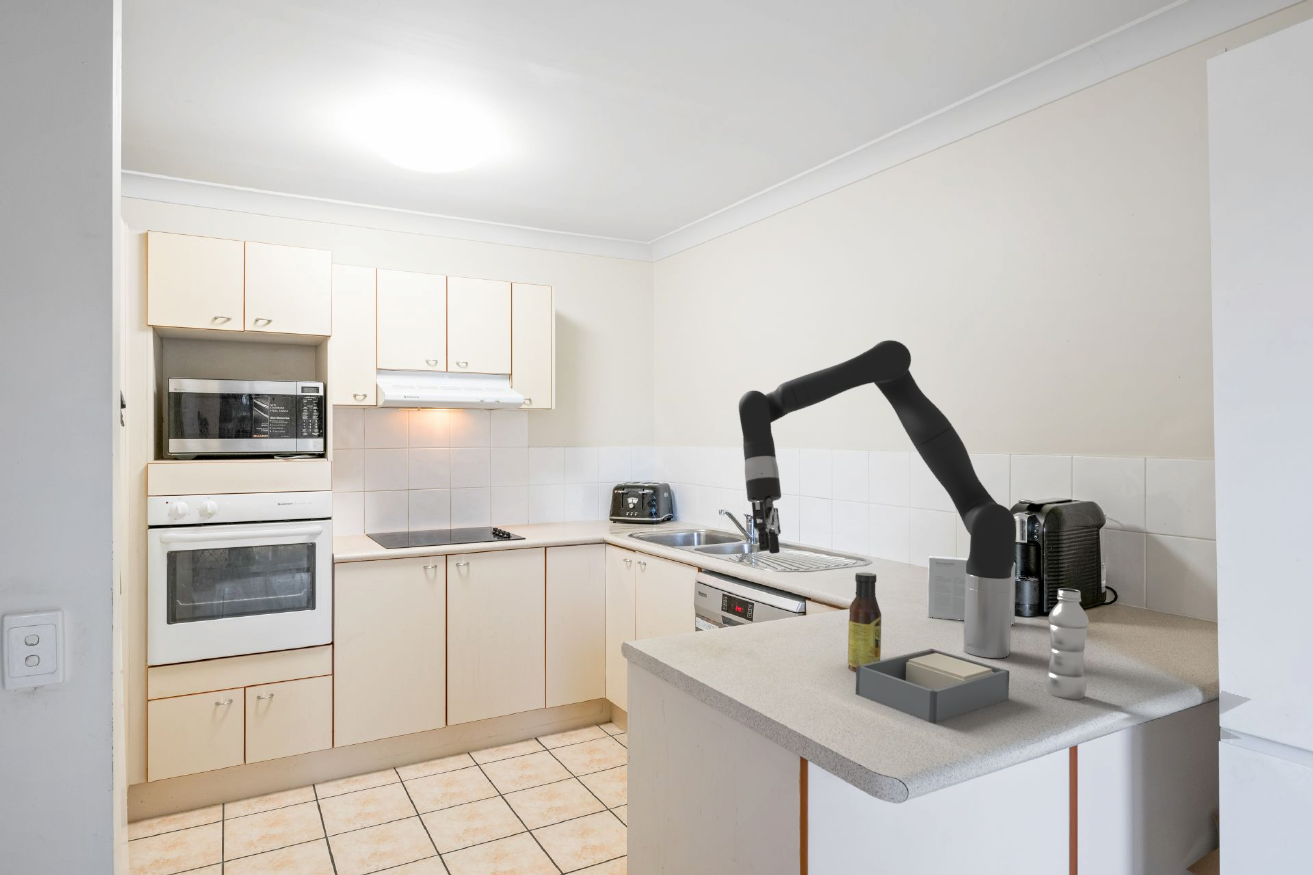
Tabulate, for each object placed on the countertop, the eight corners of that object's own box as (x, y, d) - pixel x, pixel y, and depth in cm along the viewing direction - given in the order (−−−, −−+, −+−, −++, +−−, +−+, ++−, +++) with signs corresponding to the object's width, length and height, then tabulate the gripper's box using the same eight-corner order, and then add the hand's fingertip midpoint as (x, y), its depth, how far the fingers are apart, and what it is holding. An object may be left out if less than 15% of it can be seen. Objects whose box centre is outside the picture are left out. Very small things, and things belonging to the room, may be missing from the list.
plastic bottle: (1037, 693, 143) (1041, 586, 143) (1071, 692, 144) (1075, 586, 144) (1058, 705, 137) (1062, 593, 137) (1094, 705, 138) (1098, 594, 137)
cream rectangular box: (935, 678, 148) (935, 652, 147) (993, 696, 138) (994, 669, 138) (905, 686, 142) (906, 659, 142) (963, 706, 132) (964, 677, 132)
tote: (930, 679, 150) (931, 648, 150) (1008, 704, 137) (1009, 670, 137) (855, 699, 137) (856, 665, 137) (933, 729, 124) (934, 692, 124)
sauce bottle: (881, 680, 148) (884, 578, 148) (848, 677, 150) (851, 575, 149) (878, 670, 155) (881, 572, 155) (846, 667, 156) (849, 570, 156)
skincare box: (1012, 621, 199) (1014, 560, 199) (1015, 626, 194) (1017, 564, 194) (926, 613, 206) (928, 554, 206) (926, 617, 201) (928, 557, 201)
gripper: (770, 471, 164) (779, 547, 160) (785, 481, 177) (794, 552, 173) (737, 476, 167) (744, 551, 163) (754, 486, 180) (761, 555, 176)
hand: (770, 551), depth 168 cm, fingers open, 8 cm apart
